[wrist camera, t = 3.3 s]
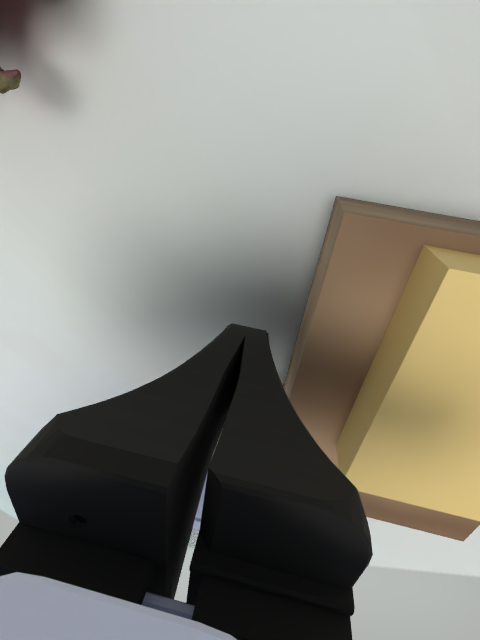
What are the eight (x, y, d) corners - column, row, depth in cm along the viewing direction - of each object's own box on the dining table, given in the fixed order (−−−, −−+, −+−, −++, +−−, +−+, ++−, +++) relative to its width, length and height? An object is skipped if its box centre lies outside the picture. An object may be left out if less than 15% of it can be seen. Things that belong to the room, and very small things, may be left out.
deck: (441, 484, 18) (463, 541, 16) (268, 442, 19) (262, 490, 17) (623, 246, 11) (717, 279, 9) (336, 196, 12) (344, 212, 10)
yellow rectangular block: (478, 478, 14) (503, 527, 12) (336, 444, 14) (340, 486, 12) (642, 285, 9) (720, 319, 7) (423, 244, 10) (449, 268, 8)
